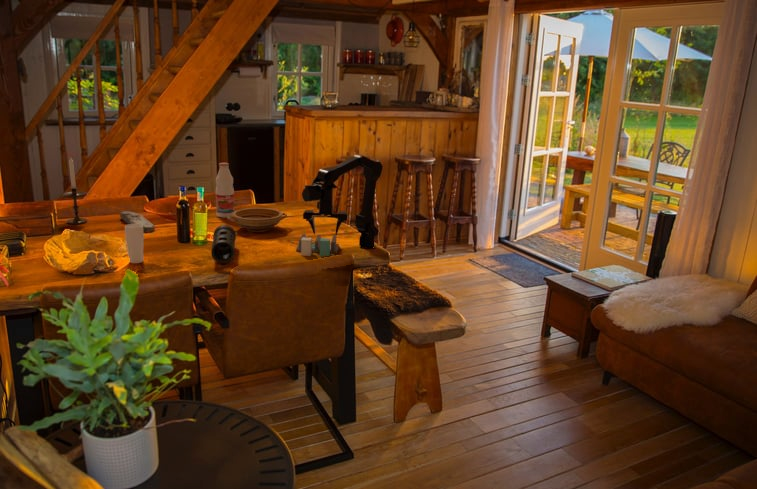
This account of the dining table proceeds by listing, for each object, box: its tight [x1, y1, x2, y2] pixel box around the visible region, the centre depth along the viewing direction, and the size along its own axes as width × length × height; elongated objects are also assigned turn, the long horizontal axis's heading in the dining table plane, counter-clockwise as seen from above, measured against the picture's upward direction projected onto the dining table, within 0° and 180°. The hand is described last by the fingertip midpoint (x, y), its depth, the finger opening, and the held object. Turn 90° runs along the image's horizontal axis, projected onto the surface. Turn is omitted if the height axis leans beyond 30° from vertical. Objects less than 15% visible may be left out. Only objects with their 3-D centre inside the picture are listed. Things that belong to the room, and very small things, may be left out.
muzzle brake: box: [210, 224, 237, 266], centre depth 253 cm, size 10×28×10 cm, turn 12°
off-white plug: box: [300, 237, 313, 257], centre depth 260 cm, size 4×4×7 cm
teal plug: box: [319, 237, 331, 258], centre depth 260 cm, size 4×4×7 cm
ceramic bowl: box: [227, 207, 288, 233], centre depth 296 cm, size 30×24×8 cm
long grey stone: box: [119, 210, 156, 233], centre depth 295 cm, size 35×5×10 cm
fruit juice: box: [215, 162, 236, 219], centre depth 315 cm, size 9×9×28 cm
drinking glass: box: [124, 223, 145, 264], centre depth 239 cm, size 7×7×15 cm
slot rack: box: [295, 233, 340, 254], centre depth 269 cm, size 18×11×5 cm, turn 89°
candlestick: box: [61, 150, 88, 226], centre depth 289 cm, size 11×11×35 cm
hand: (325, 234), depth 258 cm, fingers open, 9 cm apart
